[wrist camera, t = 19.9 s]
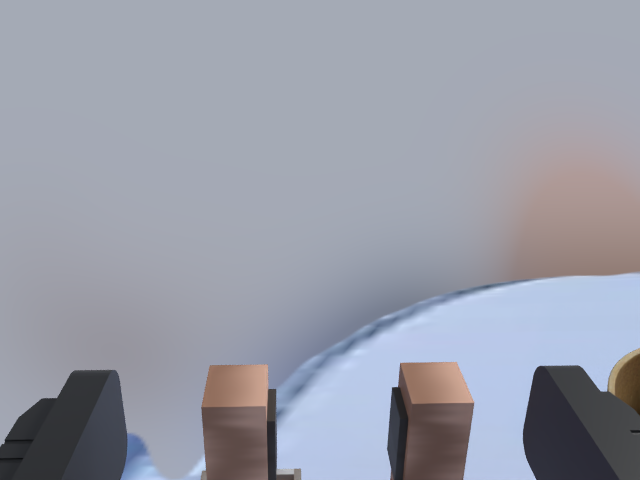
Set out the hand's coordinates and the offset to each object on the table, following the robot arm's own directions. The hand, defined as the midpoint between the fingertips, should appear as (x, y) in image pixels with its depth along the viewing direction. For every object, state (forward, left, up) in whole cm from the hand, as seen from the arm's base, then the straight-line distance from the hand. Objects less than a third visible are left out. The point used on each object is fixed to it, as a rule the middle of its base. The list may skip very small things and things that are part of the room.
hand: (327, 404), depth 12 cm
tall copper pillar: (+4, -20, -27) cm, 33 cm away
